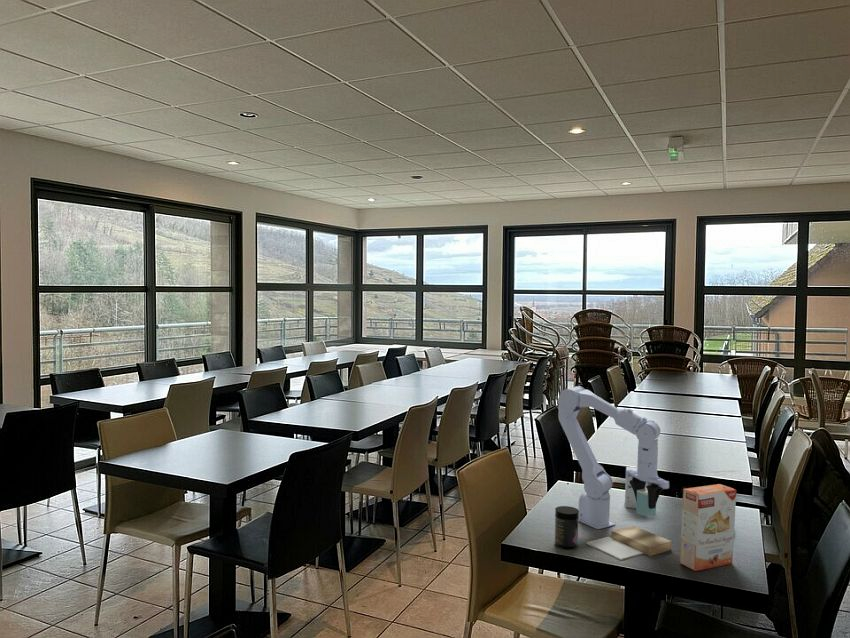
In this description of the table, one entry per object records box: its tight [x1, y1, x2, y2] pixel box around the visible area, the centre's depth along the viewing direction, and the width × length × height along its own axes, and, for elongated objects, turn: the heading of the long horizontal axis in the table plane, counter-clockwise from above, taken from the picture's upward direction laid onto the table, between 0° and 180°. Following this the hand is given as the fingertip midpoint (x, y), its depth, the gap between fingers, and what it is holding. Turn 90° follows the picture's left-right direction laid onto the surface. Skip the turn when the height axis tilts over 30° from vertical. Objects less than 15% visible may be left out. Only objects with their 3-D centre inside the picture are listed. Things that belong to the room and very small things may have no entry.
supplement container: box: [554, 505, 580, 550], centre depth 182 cm, size 7×7×10 cm
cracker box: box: [679, 483, 737, 572], centre depth 171 cm, size 14×6×21 cm, turn 114°
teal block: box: [635, 489, 657, 518], centre depth 191 cm, size 4×4×7 cm
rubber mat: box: [585, 536, 644, 561], centre depth 180 cm, size 13×9×1 cm
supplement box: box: [624, 466, 649, 509], centre depth 217 cm, size 7×7×13 cm
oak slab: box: [611, 525, 672, 557], centre depth 184 cm, size 14×9×2 cm, turn 31°
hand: (645, 505), depth 191 cm, fingers closed on teal block, 4 cm apart
